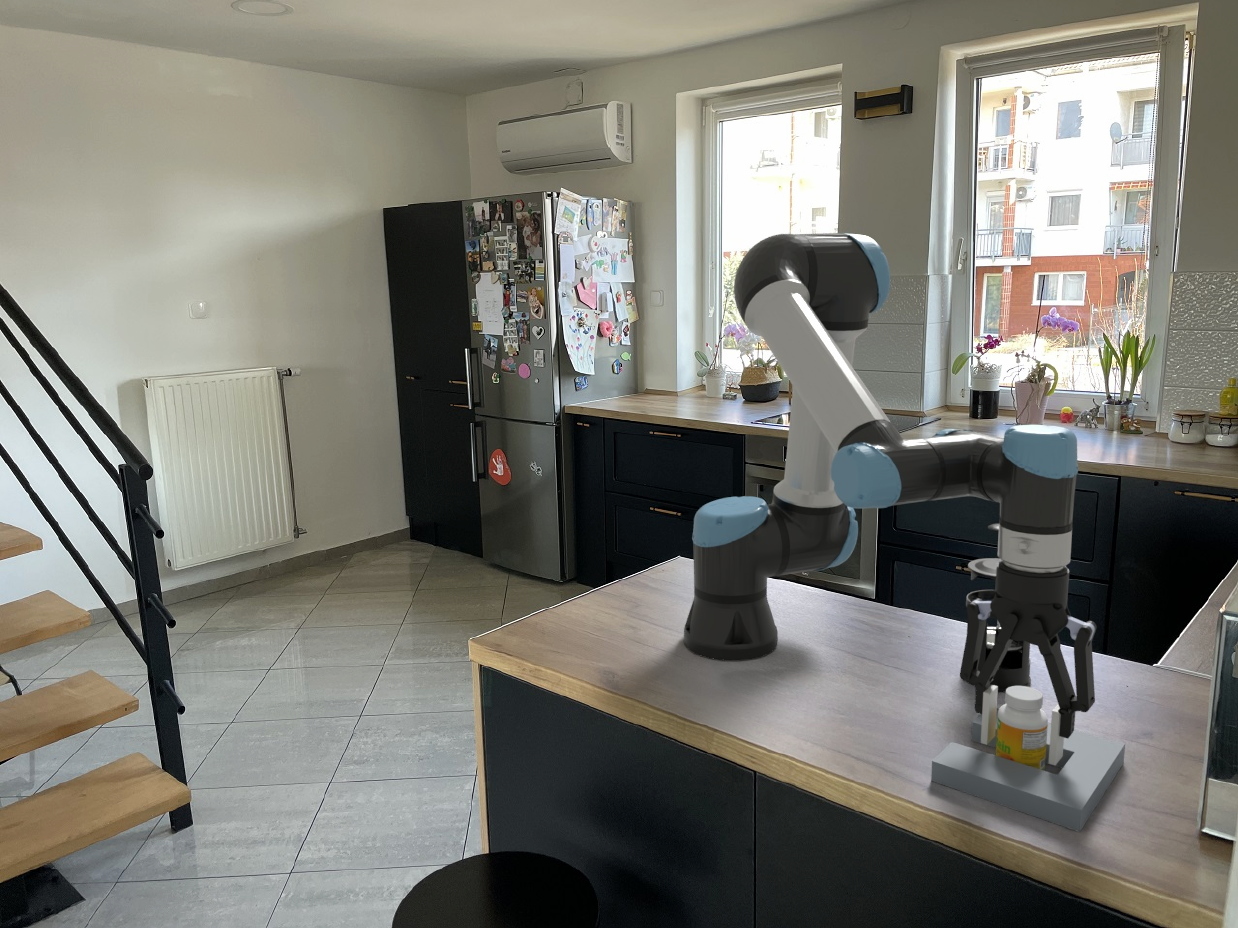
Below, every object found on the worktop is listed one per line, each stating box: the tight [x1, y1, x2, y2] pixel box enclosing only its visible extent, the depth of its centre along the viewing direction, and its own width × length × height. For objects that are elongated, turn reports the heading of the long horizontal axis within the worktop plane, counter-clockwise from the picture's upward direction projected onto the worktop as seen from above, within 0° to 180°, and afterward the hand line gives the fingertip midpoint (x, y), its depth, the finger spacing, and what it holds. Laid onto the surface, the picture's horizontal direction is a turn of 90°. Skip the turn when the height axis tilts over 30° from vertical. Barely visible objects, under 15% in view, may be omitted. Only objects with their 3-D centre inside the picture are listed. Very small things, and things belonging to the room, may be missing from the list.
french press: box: [965, 523, 1032, 693], centre depth 130 cm, size 12×9×23 cm
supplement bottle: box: [995, 686, 1049, 771], centre depth 107 cm, size 5×5×10 cm
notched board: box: [930, 707, 1126, 832], centre depth 107 cm, size 16×18×2 cm
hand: (1021, 749), depth 107 cm, fingers open, 7 cm apart
